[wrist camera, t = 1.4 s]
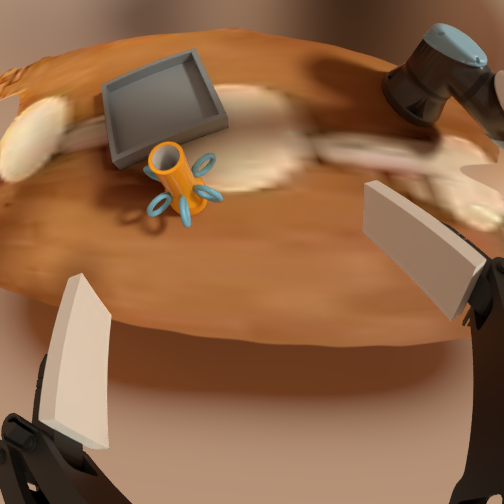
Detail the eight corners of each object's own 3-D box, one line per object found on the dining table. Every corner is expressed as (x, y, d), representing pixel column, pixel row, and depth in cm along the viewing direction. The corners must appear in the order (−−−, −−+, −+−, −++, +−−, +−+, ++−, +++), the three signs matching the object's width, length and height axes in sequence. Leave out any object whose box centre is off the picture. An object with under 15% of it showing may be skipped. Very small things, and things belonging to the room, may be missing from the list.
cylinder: (229, 229, 42) (223, 200, 27) (163, 242, 41) (125, 221, 26) (216, 157, 43) (206, 103, 28) (155, 171, 42) (122, 125, 27)
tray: (196, 59, 45) (195, 48, 42) (228, 127, 44) (227, 116, 40) (107, 94, 44) (101, 85, 40) (120, 170, 42) (112, 162, 39)
